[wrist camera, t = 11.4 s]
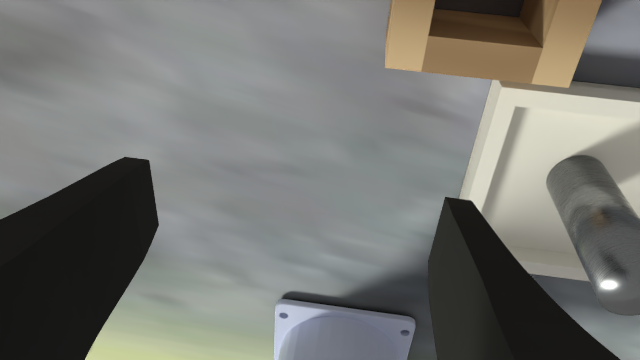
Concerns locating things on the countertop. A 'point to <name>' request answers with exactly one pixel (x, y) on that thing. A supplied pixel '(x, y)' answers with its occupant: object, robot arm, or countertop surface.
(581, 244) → the cylinder
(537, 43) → the wooden square frame
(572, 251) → the tray
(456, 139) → the countertop surface
